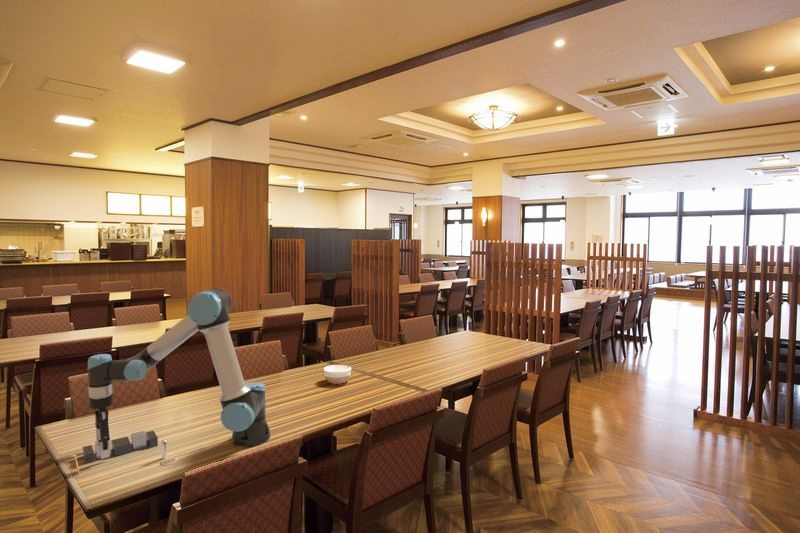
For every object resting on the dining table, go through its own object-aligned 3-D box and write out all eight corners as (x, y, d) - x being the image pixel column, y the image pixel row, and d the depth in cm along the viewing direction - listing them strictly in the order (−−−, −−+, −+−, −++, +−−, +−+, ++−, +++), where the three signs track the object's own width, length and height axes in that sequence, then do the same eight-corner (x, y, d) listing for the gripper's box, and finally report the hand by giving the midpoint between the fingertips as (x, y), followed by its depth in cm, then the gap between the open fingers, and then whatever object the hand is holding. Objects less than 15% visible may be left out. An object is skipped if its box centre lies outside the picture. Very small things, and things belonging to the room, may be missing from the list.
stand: (164, 466, 169) (154, 459, 174) (177, 461, 172) (168, 455, 177) (163, 446, 168) (154, 440, 173) (177, 441, 172) (167, 435, 177)
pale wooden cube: (96, 459, 173) (96, 445, 173) (95, 454, 177) (94, 441, 176) (110, 455, 176) (110, 442, 176) (109, 451, 179) (108, 438, 179)
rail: (157, 446, 184) (157, 437, 184) (85, 465, 169) (84, 454, 169) (153, 440, 190) (153, 430, 190) (83, 457, 175) (82, 446, 175)
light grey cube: (146, 446, 183) (145, 434, 183) (133, 450, 180) (132, 437, 180) (144, 442, 187) (143, 430, 186) (131, 445, 184) (131, 433, 184)
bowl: (356, 382, 267) (356, 369, 266) (331, 387, 258) (331, 373, 257) (343, 376, 280) (343, 363, 280) (319, 380, 271) (319, 367, 271)
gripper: (117, 402, 167) (119, 460, 169) (108, 385, 187) (110, 437, 188) (92, 407, 163) (94, 466, 164) (85, 389, 182) (87, 442, 183)
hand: (103, 451), depth 176 cm, fingers open, 12 cm apart
